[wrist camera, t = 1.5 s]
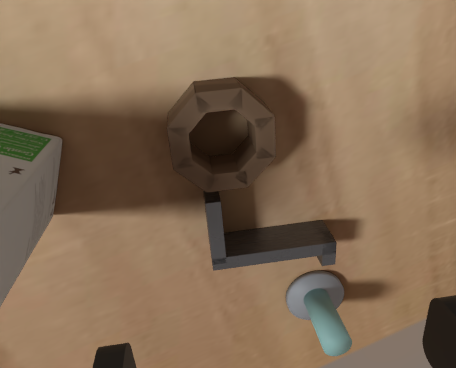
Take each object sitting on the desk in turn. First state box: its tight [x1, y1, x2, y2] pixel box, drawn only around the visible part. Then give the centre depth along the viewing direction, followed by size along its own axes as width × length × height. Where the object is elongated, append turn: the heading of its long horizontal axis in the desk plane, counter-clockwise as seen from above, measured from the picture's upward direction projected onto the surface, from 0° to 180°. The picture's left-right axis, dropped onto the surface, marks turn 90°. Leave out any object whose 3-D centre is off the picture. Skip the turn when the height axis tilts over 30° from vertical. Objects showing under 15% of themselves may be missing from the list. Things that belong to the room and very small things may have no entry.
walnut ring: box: [167, 78, 276, 192], centre depth 25 cm, size 6×6×3 cm
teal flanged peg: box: [286, 271, 352, 356], centre depth 31 cm, size 5×5×6 cm
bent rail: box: [203, 190, 336, 271], centre depth 28 cm, size 6×9×3 cm
